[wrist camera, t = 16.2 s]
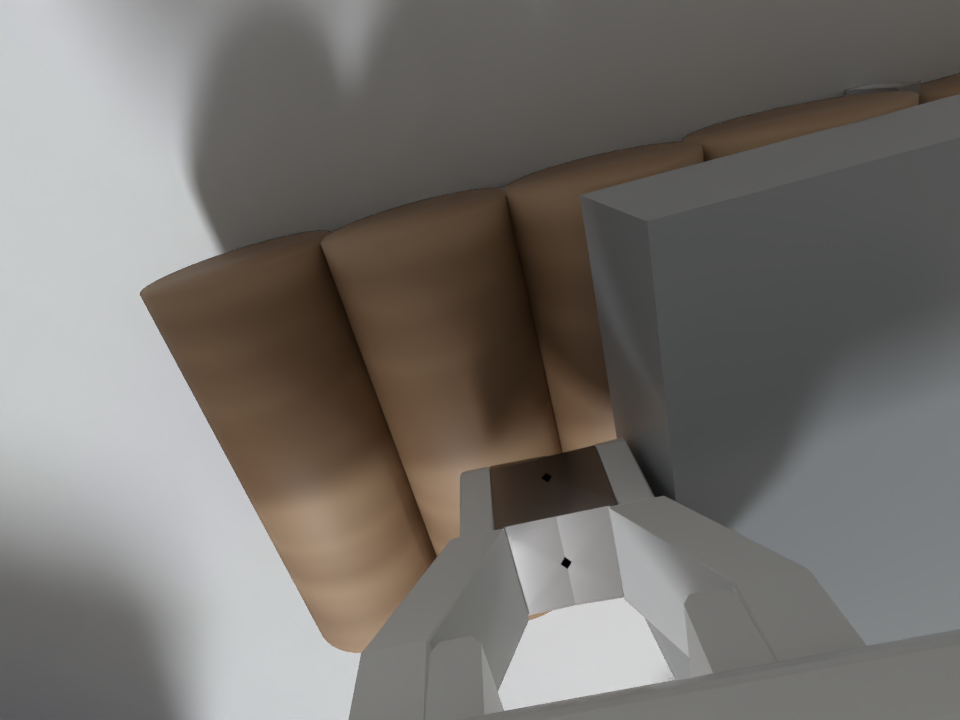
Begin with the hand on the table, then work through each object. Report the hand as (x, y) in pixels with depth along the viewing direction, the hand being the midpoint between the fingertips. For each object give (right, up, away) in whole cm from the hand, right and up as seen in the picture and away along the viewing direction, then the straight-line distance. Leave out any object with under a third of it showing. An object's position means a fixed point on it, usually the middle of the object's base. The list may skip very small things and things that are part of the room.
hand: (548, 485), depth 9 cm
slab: (+7, +2, 0) cm, 7 cm away
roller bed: (+3, +3, +4) cm, 5 cm away
